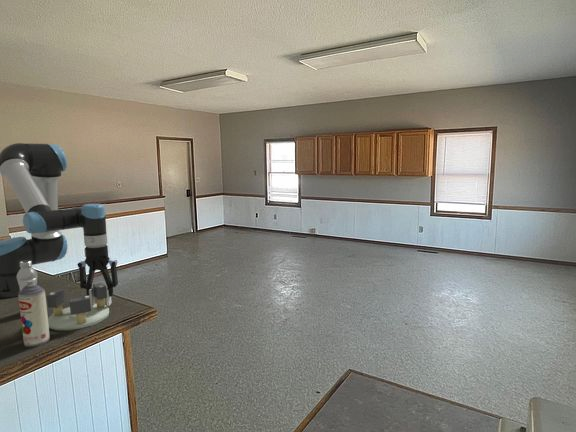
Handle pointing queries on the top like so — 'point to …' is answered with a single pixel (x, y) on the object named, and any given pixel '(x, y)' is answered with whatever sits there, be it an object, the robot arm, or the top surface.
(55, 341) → the top surface
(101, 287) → the grey block on peg
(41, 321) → the aerosol can
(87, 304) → the knob front
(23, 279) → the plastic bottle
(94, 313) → the base
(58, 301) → the dark grey rectangular block
